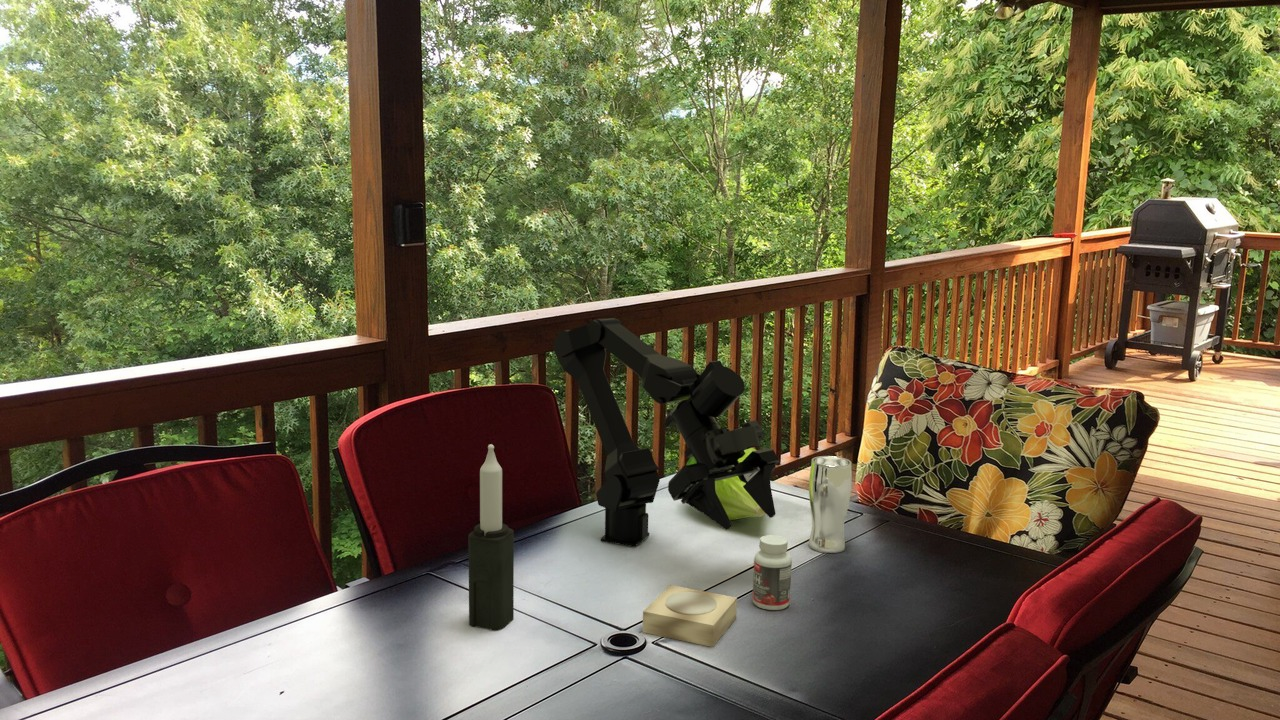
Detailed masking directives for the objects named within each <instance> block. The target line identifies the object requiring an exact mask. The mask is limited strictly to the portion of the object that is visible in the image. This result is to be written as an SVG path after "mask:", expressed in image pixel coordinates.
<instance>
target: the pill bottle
mask: <svg viewBox="0 0 1280 720" xmlns="http://www.w3.org/2000/svg"><path fill="white" fill-rule="evenodd" d="M758 544H759V545H758V547H759V549H760V550H758V551H756V553H755V555H754V558H753V579H752V581H753V582H752V603H753V604H754V605H755V606H756V607H758V608H760V609H764V610H768V611H779V610H780V611H781V610H784V609H785V608H787V607H788V606H789V605H790V599H791V582H792V581H791V580H792V563H793V562H792V561H793V560H792V556H791V555H790V554H789V553H788V552H787V551H788V544H789V543H788V539H787V538H786V537H784V536H781V535H775V534H766V535H763V536H761V537H760V538H759V543H758Z"/></svg>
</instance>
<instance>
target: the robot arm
mask: <svg viewBox="0 0 1280 720" xmlns="http://www.w3.org/2000/svg"><path fill="white" fill-rule="evenodd" d="M552 348H553V352H554V355H555V358H556V359H557V360H558V363H559V364H560V366H561V368H562V370H563V371H564V372H566V373H567V374H568V375H569V376H571V377H572V378H573V379H574V380H575V381H576V382H577V384H578V386H579V389H580V392H581V393H582V397H583V398H584V400H585V403H586V406H587V409H588V411H589V414H590V416H591V418H592V422H593V423H594V427H595V429H596V431H597V433H598V436H599V438H600V440H601V444H602V446H603V449H604V451H605V453H606V460H605V466H604V467H605V468H604V475H605V476H604V477H605V482H604V484H603V485H602V486H601V487H600V488H599V489H598V490H597V491H596V492H595V495H596V499H597V505H598V506H600V507H602V508H604V515H605V516H604V535H602V536H601V537H600V542H604V543H609V544H610V543H611V544H616V545H622V546H627V547H637V546H638V545H639V544H640V543H642V542H643V541H644V540H646V539H647V538H648V537H650V533H649V513H648V512H647V504H652V503H654V500H655V497H656V494H657V490H658V487H659V484H660V480H661V479H660V476H659V472H658V471H659V466H658V465H657V464H656V462H655V460H654V456H653V453H652V451H651V450H650V448H649V447H646V448H645V447H644V448H640V447H638V446H637V445H636V444H635V442H634V440H633V438H632V436H631V433H630V431H629V428H628V426H627V423H626V421H625V418H624V416H623V414H622V411H621V408H620V406H619V404H618V402H617V399H616V396H615V394H614V392H613V389H612V387H611V385H610V382H609V380H608V377H607V375H606V373H605V364H606V358H607V351H608V352H609V353H610V354H612V355H613V356H614V357H615V358H617V360H619V361H620V362H622V363H623V364H624V365H625V366H626V367H628V368H629V369H630V370H631V371H633V372H634V373H635V374H636V375H638V377H639V378H640V379H641V384H642V385H641V386H642V388H643V389H644V390H645V392H646V393H647V394H648V395H649V396H650V398H651V399H652V400H653V401H654V402H656V403H657V404H661V405H663V404H670V403H675V402H677V404H676V406H675V407H674V408H668V409H667V410H666V417H665V419H664V426H665V428H669V427H675V426H676V428H677V429H678V432H679V434H680V435H681V437H682V439H683V441H684V442H685V444H686V446H687V448H686V450H685V451H684V454H685V456H686V457H687V458H690V457H694V459H695V461H696V462H697V463H696V464H691V465H687V464H685V465H683V466H681V468H680V469H679V470H678V471H677V472H676V473H675V474H674V476H673V477H672V478H671V479H670V480H669V481H668V485H667V486H668V487H667V490H668V492H669V494H670V496H671V498H672V500H673V501H674V502H675V501H678V500H680V502H681V503H682V505H683V504H686V505H689V506H690V507H691V508H694V509H695V510H697V511H699V512H700V513H701V514H703V515H704V516H706V517H708V518H709V519H711V521H713V522H714V523H716V524H717V525H718V526H720V527H722V528H723V529H724V530H726V531H728V530H730V529H731V528H732V526H733V525H732V523H731V520H729V518H728V515H727V513H726V511H725V509H724V508H723V506H722V504H721V502H720V500H719V498H718V496H717V494H716V491H715V481H718V480H722V479H727V478H731V477H735V476H738V477H739V479H740V480H741V481H743V482H744V483H746V484H745V485H744V486H743V488H744V489H745V490H746V491H747V492H748V494H749V495H750V496H751V497H752V498H753V499H754V501H755V502H756V503H757V504H758V505H759V506H760V508H761V509H762V510H763V511H764V512H765V515H767V516H768V517H769V518H770V519H771V518H774V517H775V516H776V509H775V504H774V503H775V502H774V499H773V492H772V488H771V487H772V485H771V476H772V473H773V472H774V471H775V469H776V468H777V464H778V463H780V458H779V457H778V455H777V454H776V452H775V450H774V449H771V448H768V447H766V448H762V449H758V450H757V449H756V448H759V447H761V444H760V442H761V441H763V440H764V439H765V434H764V433H765V432H764V430H763V428H762V426H761V425H760V424H759V422H758V420H757V419H756V420H750V421H747V422H744V423H742V424H741V427H739V428H736V429H732V430H730V429H729V428H727V427H720V425H719V423H718V422H717V420H716V418H720V417H722V416H723V415H724V414H725V413H726V411H728V410H729V409H730V407H731V406H733V404H734V403H735V402H736V401H737V400H738V399H739V398H740V397H741V395H743V394H744V392H745V382H744V380H743V378H742V377H741V375H740V374H737V372H735V371H734V370H733V369H731V368H730V367H728V366H724V365H723V363H722V361H721V360H713V361H709V362H708V363H707V365H706V366H705V367H704V370H703V371H702V372H701V373H700V372H697V371H696V369H695V368H694V367H693V366H692V365H690V364H689V363H686V362H685V361H682V360H681V359H677V358H673V357H671V356H665V355H664V354H662V353H659V352H658V351H656V350H655V349H654V348H653V347H652V346H650V345H649V344H647V343H646V342H645V341H643V340H642V339H641V338H640V337H638V336H637V335H636V334H635V333H633V332H631V330H629V329H628V328H627V327H626V326H624V325H623V323H622V322H621V320H620V319H617V318H615V317H612V318H611V317H610V318H598V319H594V320H593V321H591V322H589V323H587V324H585V325H581V326H578V327H576V328H574V329H566V330H564V329H563V330H561V331H559V332H558V333H557V335H556V338H555V339H554V340H553V344H552ZM606 350H607V351H606ZM749 448H754V449H756V450H757V451H752V452H751V453H750V454H749V455H748V456H747V457H746V458H745V459H744V460H743V461H742V462H739V461H738V459H739V458H742V457H743V456H744V455H745V454H746V453H745V452H744V450H746V449H749ZM738 462H739V463H738Z"/></svg>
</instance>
